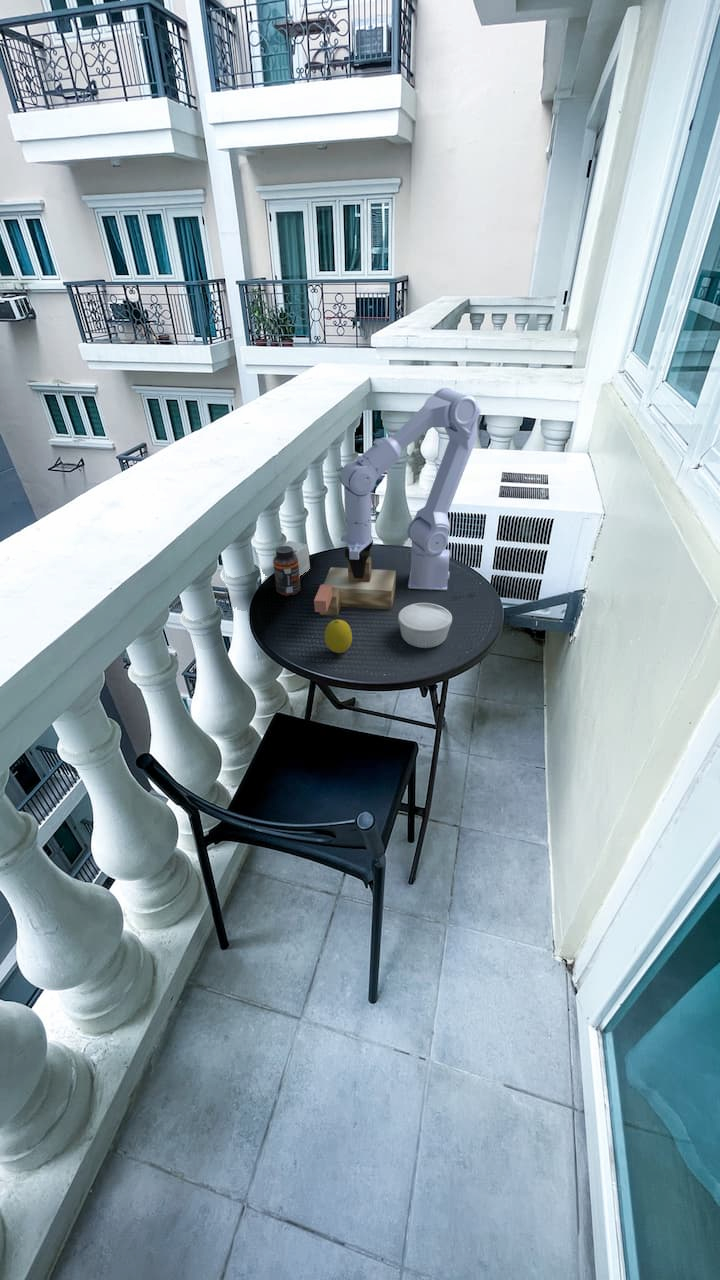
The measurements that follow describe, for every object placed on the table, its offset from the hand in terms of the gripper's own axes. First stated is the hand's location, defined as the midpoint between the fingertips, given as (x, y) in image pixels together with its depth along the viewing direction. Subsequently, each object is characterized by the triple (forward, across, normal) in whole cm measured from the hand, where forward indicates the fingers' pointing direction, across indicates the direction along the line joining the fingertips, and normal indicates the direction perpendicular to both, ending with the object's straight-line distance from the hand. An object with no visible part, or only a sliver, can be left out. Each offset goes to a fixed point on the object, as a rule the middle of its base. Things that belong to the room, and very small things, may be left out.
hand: (359, 574), depth 127 cm
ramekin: (+6, +15, +16) cm, 23 cm away
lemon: (+6, +23, -1) cm, 24 cm away
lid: (+2, 0, 0) cm, 2 cm away
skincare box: (+6, -11, -19) cm, 23 cm away
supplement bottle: (+6, -1, -18) cm, 19 cm away
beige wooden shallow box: (+6, +2, 0) cm, 7 cm away
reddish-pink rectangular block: (+1, +13, -6) cm, 14 cm away
